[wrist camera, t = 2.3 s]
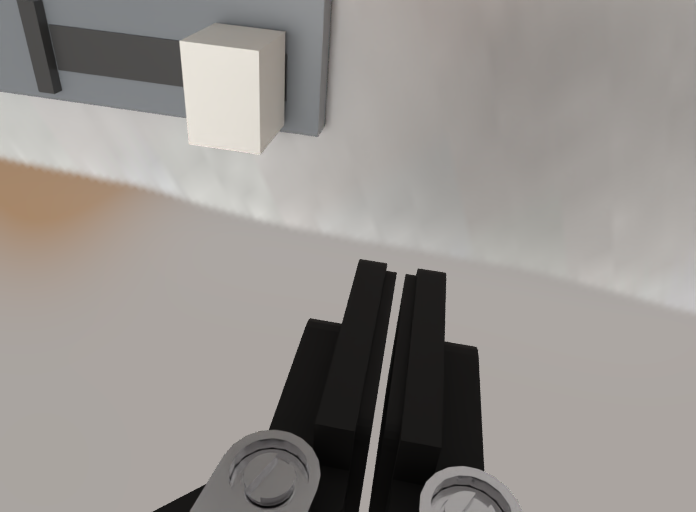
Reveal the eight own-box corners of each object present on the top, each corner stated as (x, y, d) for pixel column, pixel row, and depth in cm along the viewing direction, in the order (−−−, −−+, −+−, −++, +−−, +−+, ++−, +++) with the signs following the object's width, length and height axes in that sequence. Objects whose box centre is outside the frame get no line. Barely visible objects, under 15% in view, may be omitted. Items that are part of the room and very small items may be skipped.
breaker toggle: (285, 31, 22) (258, 50, 19) (284, 124, 24) (260, 154, 22) (215, 23, 22) (179, 40, 20) (220, 116, 25) (188, 144, 22)
